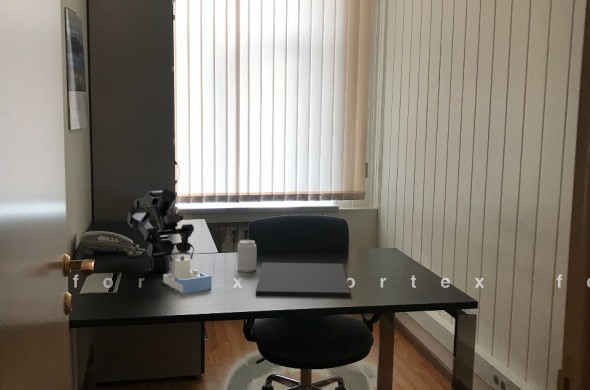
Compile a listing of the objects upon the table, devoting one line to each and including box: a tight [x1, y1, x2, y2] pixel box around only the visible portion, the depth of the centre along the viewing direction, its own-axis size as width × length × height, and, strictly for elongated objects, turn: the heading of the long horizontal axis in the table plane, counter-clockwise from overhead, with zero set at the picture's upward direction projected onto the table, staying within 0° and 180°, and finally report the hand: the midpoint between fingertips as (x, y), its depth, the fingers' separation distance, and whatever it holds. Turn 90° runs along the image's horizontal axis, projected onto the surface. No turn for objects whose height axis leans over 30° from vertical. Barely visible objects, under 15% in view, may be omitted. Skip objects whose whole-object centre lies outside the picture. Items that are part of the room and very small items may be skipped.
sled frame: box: [162, 269, 213, 295], centre depth 230 cm, size 18×11×5 cm, turn 35°
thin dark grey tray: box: [255, 262, 351, 299], centre depth 239 cm, size 40×2×33 cm
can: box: [237, 239, 257, 273], centre depth 253 cm, size 8×8×12 cm
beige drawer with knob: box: [174, 255, 191, 279], centre depth 233 cm, size 4×4×10 cm
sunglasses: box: [168, 241, 195, 261], centre depth 276 cm, size 14×16×5 cm
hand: (175, 250), depth 237 cm, fingers open, 9 cm apart
